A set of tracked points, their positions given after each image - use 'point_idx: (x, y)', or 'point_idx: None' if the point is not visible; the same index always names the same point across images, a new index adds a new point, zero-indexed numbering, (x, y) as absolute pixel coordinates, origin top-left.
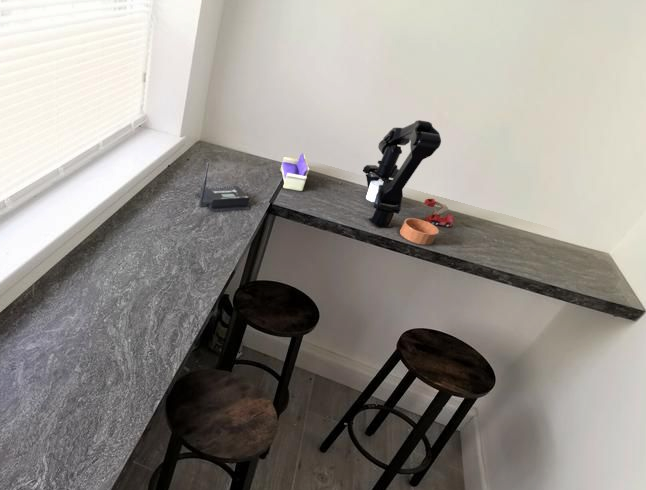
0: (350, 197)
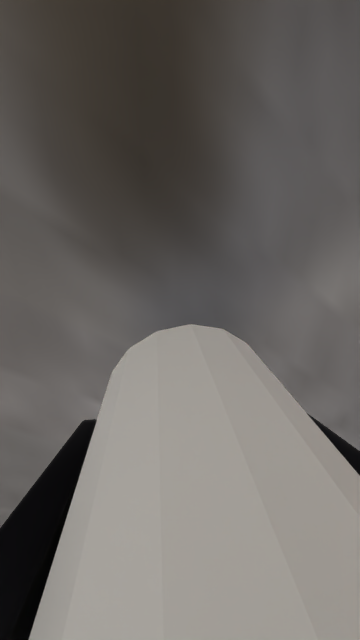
0: (47, 446)
